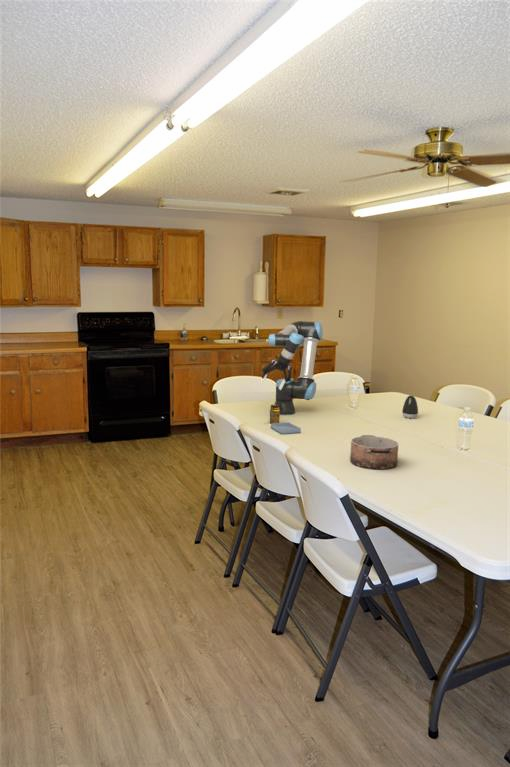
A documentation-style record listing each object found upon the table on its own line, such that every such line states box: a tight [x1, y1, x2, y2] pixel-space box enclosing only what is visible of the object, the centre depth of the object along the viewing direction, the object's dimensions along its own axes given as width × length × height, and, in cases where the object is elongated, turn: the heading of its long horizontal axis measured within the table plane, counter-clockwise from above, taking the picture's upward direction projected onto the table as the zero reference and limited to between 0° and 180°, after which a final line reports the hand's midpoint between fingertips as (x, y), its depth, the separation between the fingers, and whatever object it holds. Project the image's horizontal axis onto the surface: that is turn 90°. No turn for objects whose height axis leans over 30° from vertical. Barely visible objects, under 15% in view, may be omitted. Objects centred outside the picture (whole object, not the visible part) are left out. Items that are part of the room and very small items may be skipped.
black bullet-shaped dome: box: [401, 395, 419, 419], centre depth 386 cm, size 10×10×15 cm
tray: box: [270, 421, 302, 436], centre depth 342 cm, size 12×16×3 cm
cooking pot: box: [349, 434, 399, 471], centre depth 280 cm, size 30×22×11 cm
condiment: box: [269, 404, 281, 424], centre depth 358 cm, size 7×8×12 cm
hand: (270, 385), depth 361 cm, fingers open, 13 cm apart
